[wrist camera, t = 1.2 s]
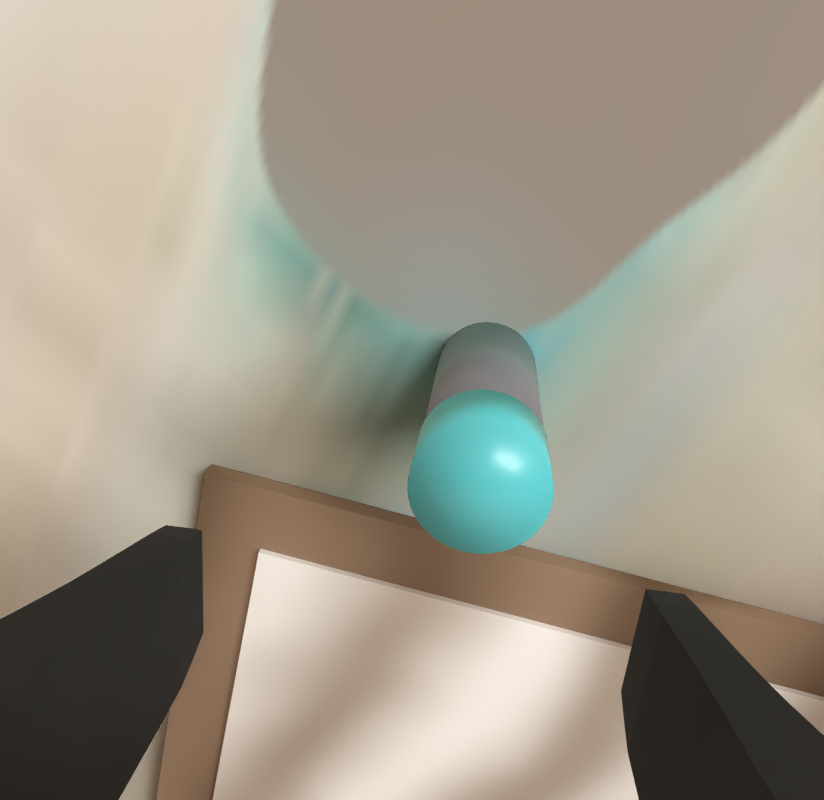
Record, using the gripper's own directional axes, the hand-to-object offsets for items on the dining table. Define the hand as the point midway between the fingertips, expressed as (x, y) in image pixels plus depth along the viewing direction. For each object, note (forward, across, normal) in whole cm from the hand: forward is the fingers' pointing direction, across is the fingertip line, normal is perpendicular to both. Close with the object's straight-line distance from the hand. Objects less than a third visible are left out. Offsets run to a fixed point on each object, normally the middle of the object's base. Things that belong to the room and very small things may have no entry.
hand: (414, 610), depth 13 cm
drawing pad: (+9, -4, +14) cm, 17 cm away
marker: (+10, -1, -1) cm, 10 cm away
